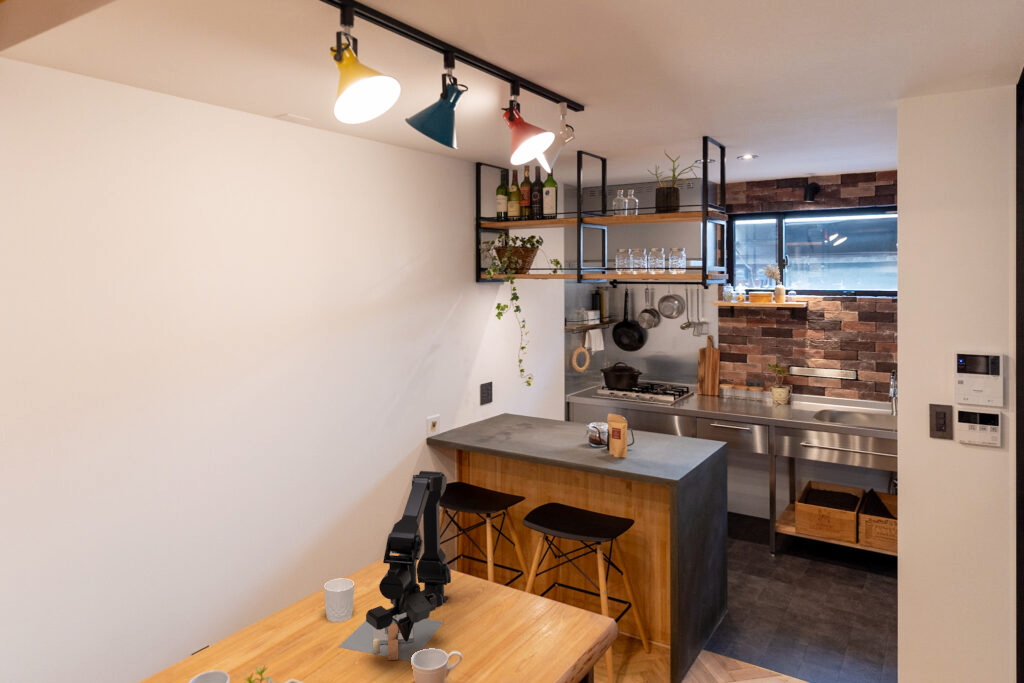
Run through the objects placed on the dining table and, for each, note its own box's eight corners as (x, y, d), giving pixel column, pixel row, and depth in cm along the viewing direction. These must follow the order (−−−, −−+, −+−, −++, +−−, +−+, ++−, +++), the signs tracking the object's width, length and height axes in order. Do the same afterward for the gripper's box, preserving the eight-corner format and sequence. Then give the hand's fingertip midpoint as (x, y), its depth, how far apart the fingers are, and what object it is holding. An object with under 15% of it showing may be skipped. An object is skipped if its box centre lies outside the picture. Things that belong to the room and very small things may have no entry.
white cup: (346, 629, 180) (346, 592, 179) (319, 625, 182) (318, 589, 181) (359, 614, 188) (359, 579, 187) (332, 611, 189) (332, 576, 189)
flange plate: (373, 624, 180) (373, 606, 179) (412, 622, 182) (412, 604, 181) (371, 661, 163) (371, 641, 162) (413, 658, 164) (414, 638, 164)
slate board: (376, 614, 188) (376, 599, 188) (443, 626, 183) (444, 611, 182) (338, 651, 169) (337, 635, 169) (411, 666, 163) (412, 649, 163)
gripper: (388, 604, 154) (389, 669, 155) (455, 579, 166) (456, 640, 168) (364, 587, 162) (365, 649, 164) (429, 565, 174) (430, 623, 176)
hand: (405, 640), depth 168 cm, fingers closed
